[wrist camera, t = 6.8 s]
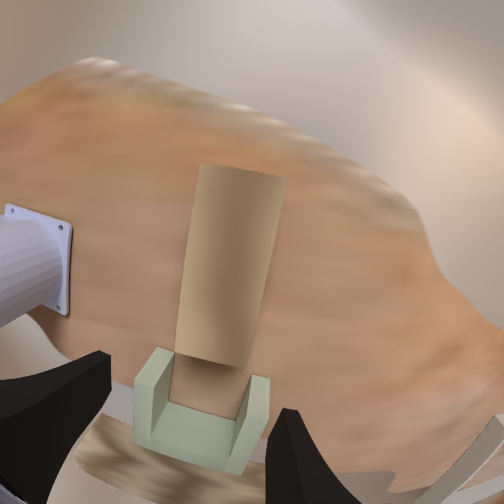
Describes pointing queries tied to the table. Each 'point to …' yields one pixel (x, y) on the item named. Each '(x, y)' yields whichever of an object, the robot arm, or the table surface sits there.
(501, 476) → the gray rectangular frame
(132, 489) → the wall
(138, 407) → the block
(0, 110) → the table surface
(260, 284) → the peg
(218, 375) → the table surface
